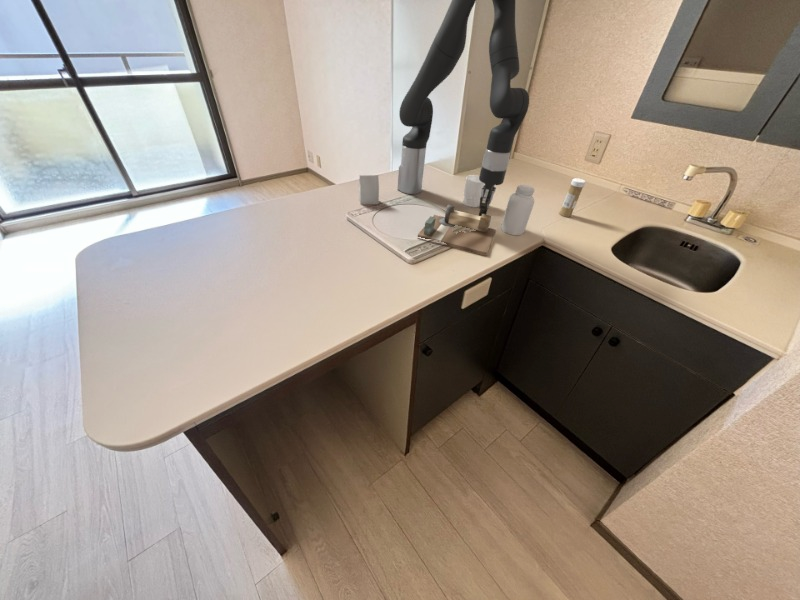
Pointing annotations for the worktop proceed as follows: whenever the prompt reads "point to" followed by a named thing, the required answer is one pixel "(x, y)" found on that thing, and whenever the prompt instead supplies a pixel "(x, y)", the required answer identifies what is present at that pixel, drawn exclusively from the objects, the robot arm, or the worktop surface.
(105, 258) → the worktop surface
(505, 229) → the pill bottle
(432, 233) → the board
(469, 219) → the stool leg
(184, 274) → the worktop surface
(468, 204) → the white cup
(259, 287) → the worktop surface
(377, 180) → the grey upright block
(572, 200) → the sprinkles bottle
